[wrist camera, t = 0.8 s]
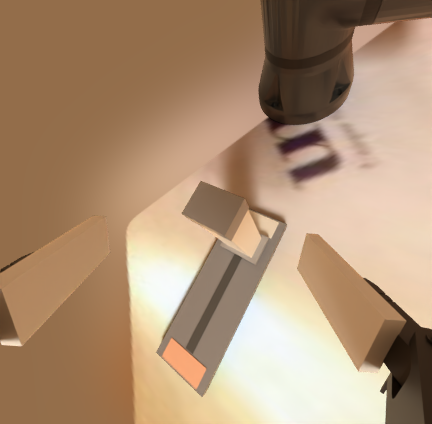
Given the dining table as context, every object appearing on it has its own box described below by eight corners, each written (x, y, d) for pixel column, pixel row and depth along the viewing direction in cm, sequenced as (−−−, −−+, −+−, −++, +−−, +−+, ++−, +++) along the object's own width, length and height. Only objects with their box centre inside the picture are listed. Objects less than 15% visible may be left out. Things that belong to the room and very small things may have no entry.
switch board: (239, 206, 33) (236, 203, 31) (286, 227, 29) (286, 224, 28) (162, 349, 29) (155, 352, 28) (206, 391, 26) (201, 397, 24)
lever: (234, 222, 30) (196, 174, 17) (269, 238, 28) (255, 197, 15) (221, 246, 30) (172, 214, 17) (256, 265, 27) (230, 245, 14)
